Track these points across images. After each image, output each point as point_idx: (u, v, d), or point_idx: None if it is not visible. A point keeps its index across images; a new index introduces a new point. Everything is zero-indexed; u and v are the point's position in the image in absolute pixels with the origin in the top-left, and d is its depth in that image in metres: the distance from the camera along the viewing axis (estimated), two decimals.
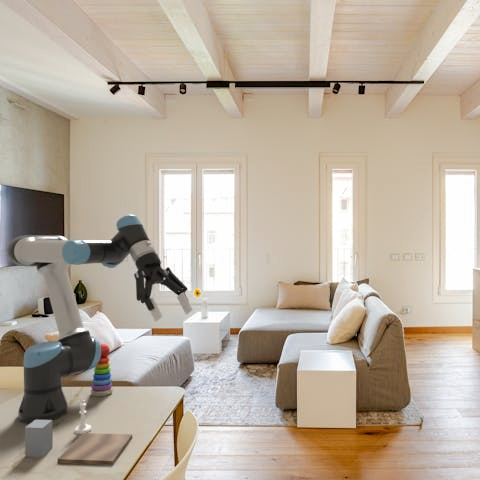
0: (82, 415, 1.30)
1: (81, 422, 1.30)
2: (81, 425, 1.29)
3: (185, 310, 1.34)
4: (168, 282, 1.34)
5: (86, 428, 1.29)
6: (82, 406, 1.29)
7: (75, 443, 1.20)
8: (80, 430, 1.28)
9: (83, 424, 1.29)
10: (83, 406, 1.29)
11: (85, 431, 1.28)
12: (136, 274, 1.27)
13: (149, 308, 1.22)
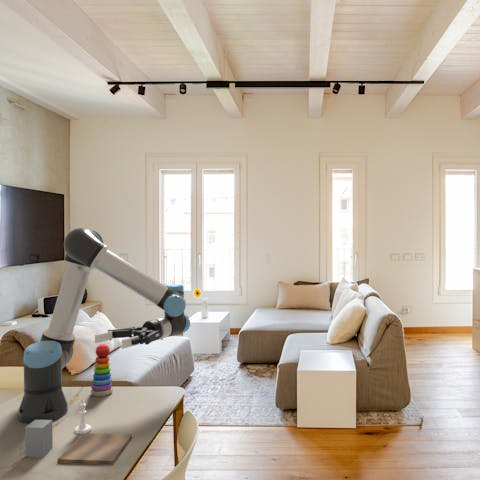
0: (82, 415, 1.30)
1: (81, 422, 1.30)
2: (81, 425, 1.29)
3: (99, 336, 1.43)
4: (127, 335, 1.49)
5: (86, 428, 1.29)
6: (82, 406, 1.29)
7: (75, 443, 1.20)
8: (80, 430, 1.28)
9: (83, 424, 1.29)
10: (83, 406, 1.29)
11: (85, 431, 1.28)
12: (158, 334, 1.47)
13: (134, 342, 1.37)
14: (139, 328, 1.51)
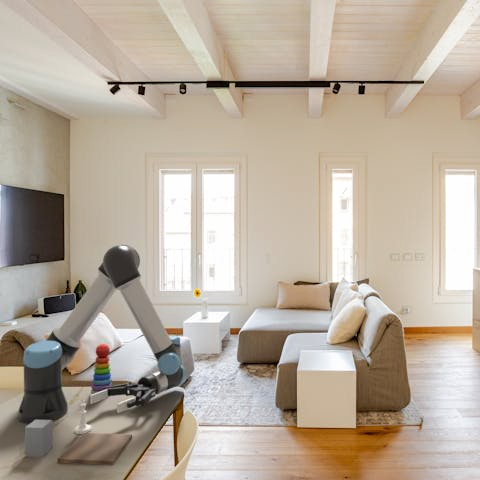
0: (82, 415, 1.30)
1: (81, 422, 1.30)
2: (81, 425, 1.29)
3: (94, 396, 1.41)
4: (123, 393, 1.47)
5: (86, 428, 1.29)
6: (82, 406, 1.29)
7: (75, 443, 1.20)
8: (80, 430, 1.28)
9: (83, 424, 1.29)
10: (83, 406, 1.29)
11: (85, 431, 1.28)
12: (154, 392, 1.45)
13: (130, 405, 1.35)
14: (135, 385, 1.48)
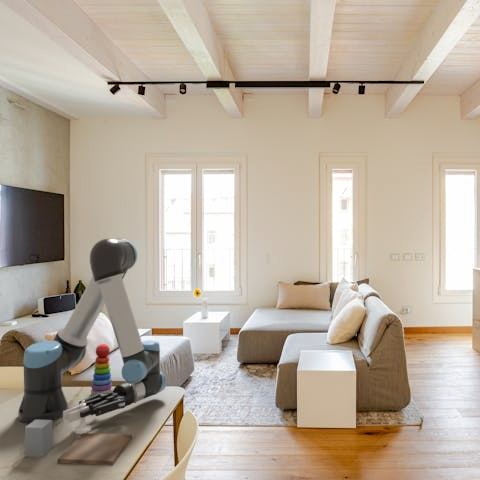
0: None
1: (81, 422, 1.30)
2: (81, 425, 1.29)
3: (67, 412, 1.27)
4: None
5: (86, 428, 1.29)
6: (82, 406, 1.29)
7: (75, 443, 1.20)
8: (80, 430, 1.28)
9: (83, 424, 1.29)
10: (83, 406, 1.29)
11: (85, 431, 1.28)
12: (122, 404, 1.35)
13: (83, 414, 1.27)
14: (110, 394, 1.40)
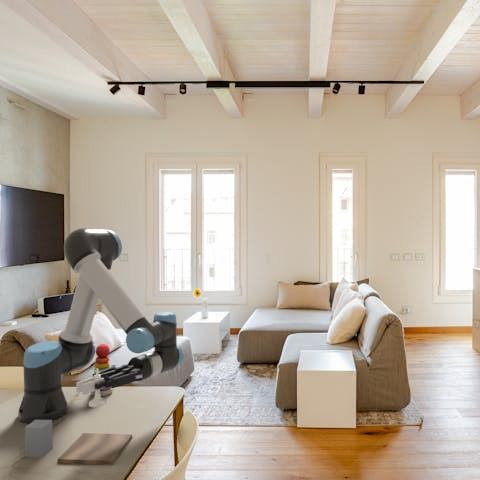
0: None
1: (96, 395, 1.19)
2: (96, 398, 1.19)
3: (81, 383, 1.17)
4: None
5: (102, 401, 1.19)
6: (97, 377, 1.19)
7: (75, 443, 1.20)
8: (95, 403, 1.18)
9: (98, 397, 1.19)
10: (98, 377, 1.19)
11: (100, 404, 1.18)
12: (139, 376, 1.25)
13: (98, 386, 1.17)
14: (126, 366, 1.29)
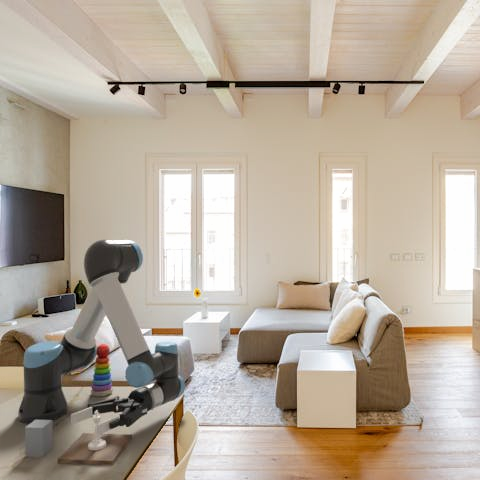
0: (96, 429, 1.18)
1: (95, 437, 1.17)
2: (95, 440, 1.17)
3: (76, 415, 1.19)
4: (111, 410, 1.26)
5: (101, 443, 1.17)
6: (96, 419, 1.17)
7: (75, 443, 1.20)
8: (94, 446, 1.16)
9: (97, 439, 1.17)
10: (97, 419, 1.17)
11: (100, 447, 1.16)
12: (145, 410, 1.24)
13: (113, 425, 1.14)
14: (125, 400, 1.28)
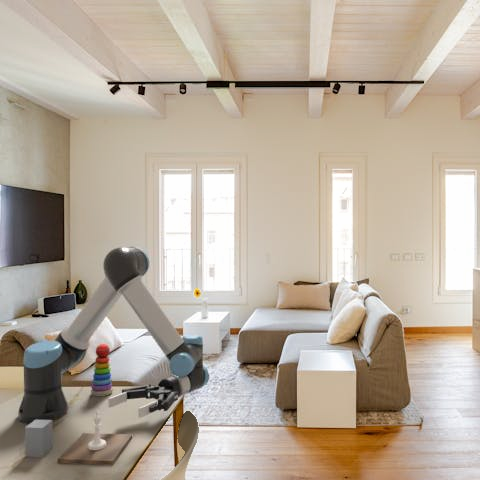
0: (96, 429, 1.18)
1: (95, 437, 1.17)
2: (95, 440, 1.17)
3: (113, 399, 1.30)
4: (143, 396, 1.37)
5: (101, 443, 1.17)
6: (96, 419, 1.17)
7: (75, 443, 1.20)
8: (94, 446, 1.16)
9: (97, 439, 1.17)
10: (98, 419, 1.17)
11: (100, 447, 1.16)
12: (176, 396, 1.35)
13: (152, 409, 1.24)
14: (156, 387, 1.38)
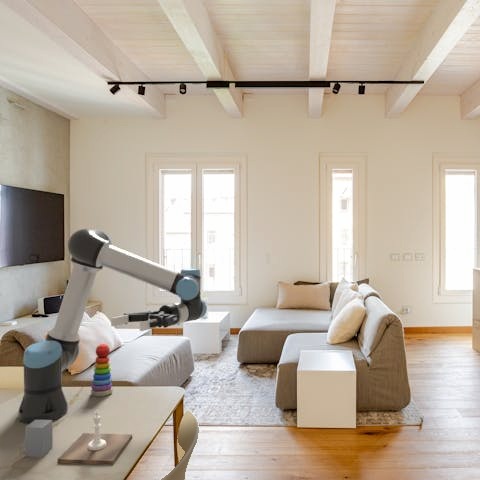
0: (96, 429, 1.18)
1: (95, 437, 1.17)
2: (95, 440, 1.17)
3: (115, 319, 1.38)
4: (144, 319, 1.45)
5: (101, 443, 1.17)
6: (96, 419, 1.17)
7: (75, 443, 1.20)
8: (94, 446, 1.16)
9: (97, 439, 1.17)
10: (97, 419, 1.17)
11: (100, 447, 1.16)
12: (175, 318, 1.42)
13: (153, 324, 1.32)
14: (156, 312, 1.46)
